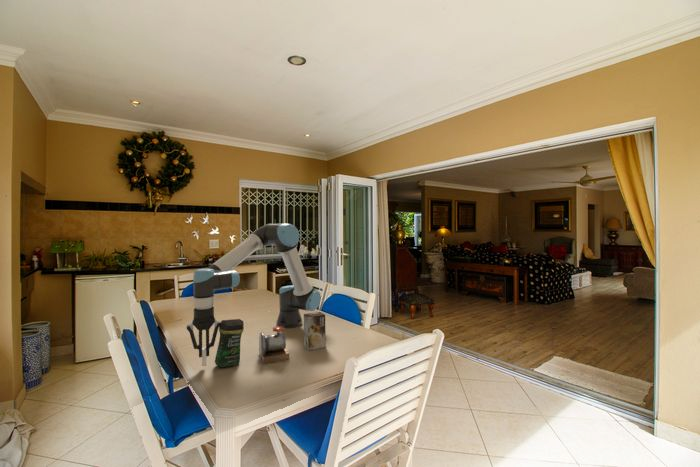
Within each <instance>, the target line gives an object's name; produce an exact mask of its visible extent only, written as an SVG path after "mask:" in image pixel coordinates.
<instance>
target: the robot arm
mask: <svg viewBox="0 0 700 467" xmlns="http://www.w3.org/2000/svg"><path fill="white" fill-rule="evenodd" d="M299 241H300V233H299V229H298V228H297V227H296V226H295V225H293V224H291V223H284V222H283V223H267V224H265V225H262V226H260V227H259V228H256V229H255V230H254V231H253V232H251V233H250V234H249V235H248V237H247V238H246V239H245V240H244V241H242V242H241V243H239V244H238V245H236V246H235V247H234V248H232V249H231V250H230V251H228V252H227V253H226V254H224V255H223V256H222V257H219V258H218V259H217V260H216V261H215V262H213V263H212V264H210V265H209V266H208V267H205V268H199V269H196V270H194V271H193V279H192V280H193V318H192V319H193V320H192V322H191V323H189V324H187V325H186V330H187V331H188V332H189V337H190V339H191V342H192V346H193V349H194V350H198V357H199V358H200V359H201V366H202V367H205V366H207V357H209V356H210V349H211V348H213V347H214V346H215V343H216V339H217V335H218V331H219V327H220V325H221V321H217V320H216V317H215V292H216V291H220V290H221V291H222V290H227V289H232V288H237V287H238V286H239V285H240V282H241V281H240V280H241V276H240V274H239V272H238V271H236V270H233V269H234V268H236V267H237V266H238V265H239V264H240V263H242V262H243V261H245V260H246V259H247V258H248V257H249V256H251V255H252V254H253V253H255V252H256V251H257V250H262V249H263V248H265V247H268V246H274V248H275V249H276V252H277V253H278V254H281V257H282V259H283V263H284V265H285V268H286V270H287V272H288V275H289V278H290V280H291V283H292V285H286V286H285V285H284V286H281V287H280V288H279V294H278V297H279V298H278V299H279V301H278V302H279V312H278V316H277V318H276V327H277V326H282V327H284V329H286V328H287V329H290V328H297V327H300V326H301V325H303V318H302V315H301V312H300V310H302V311H307V312H314V311H315V310H317V309H318V307H319V306H320V303H321V300H322V298H321V297H322V296H321V293H320V292H319V291H318V290H316V289H315V288H314V285H313V284H312V283H311V282H309V279H308V277H307V274H306V273H307V272H306V271H305V268H304V266H303V263H302V260H301V257H300V255H299V252H298V248H297V247H298V245H299V244H298V243H299ZM212 326H214V329H213V333H212V337H211V341H210V329H211V328H212ZM194 327H195V328H196V329H197V330H198V342H197V339H196V336H195V333H194ZM203 331H205V347H203Z"/></svg>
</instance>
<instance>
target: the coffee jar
mask: <svg viewBox="0 0 700 467" xmlns="http://www.w3.org/2000/svg"><path fill="white" fill-rule="evenodd" d="M220 323H221V325H220V327H219V328H218V331H219V341H218V344H217V349H216V350H217V351H216V354H215V357H214V358H215V359H214V363H215V365H216V366H218V367H221V368H227V367H232V366H233V367H234V366H237V365H238V364H240V363H241V340H242V334H243V332H244V330H245V329H244V323H245V322H244V321H243V320H242V319H240V318H235V319H232V318H231V319H222V320H221V321H220Z"/></svg>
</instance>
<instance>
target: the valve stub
mask: <svg viewBox="0 0 700 467" xmlns="http://www.w3.org/2000/svg"><path fill="white" fill-rule="evenodd" d="M284 330H285V328H284V327H282V326H277V325H276V326H274V327H272V332H275V333H276V334H268V335H265V333H264V332H260V333H259V336H258V354H259V357H260V359H261V362H262V364H263V365H269V364H273V363H274V364H275V363H280V362H286V361H287V362H288V361H290V352H289V350H288V349H287V347H286V345H287V343H286V342H287V340H286V335H285V333H284V332H283V331H284ZM281 332H282V333H281Z"/></svg>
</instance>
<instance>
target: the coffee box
mask: <svg viewBox="0 0 700 467" xmlns="http://www.w3.org/2000/svg"><path fill="white" fill-rule="evenodd" d="M326 334H327V333H326V314H325V313H323V312H321V311H316V312H310V313H304V314H303V347H304V348H306V349H307V351H312V350H317V349H318V350H319V349H322V348H326V347H327V343H326V339H327V338H326V337H327V336H326Z"/></svg>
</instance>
